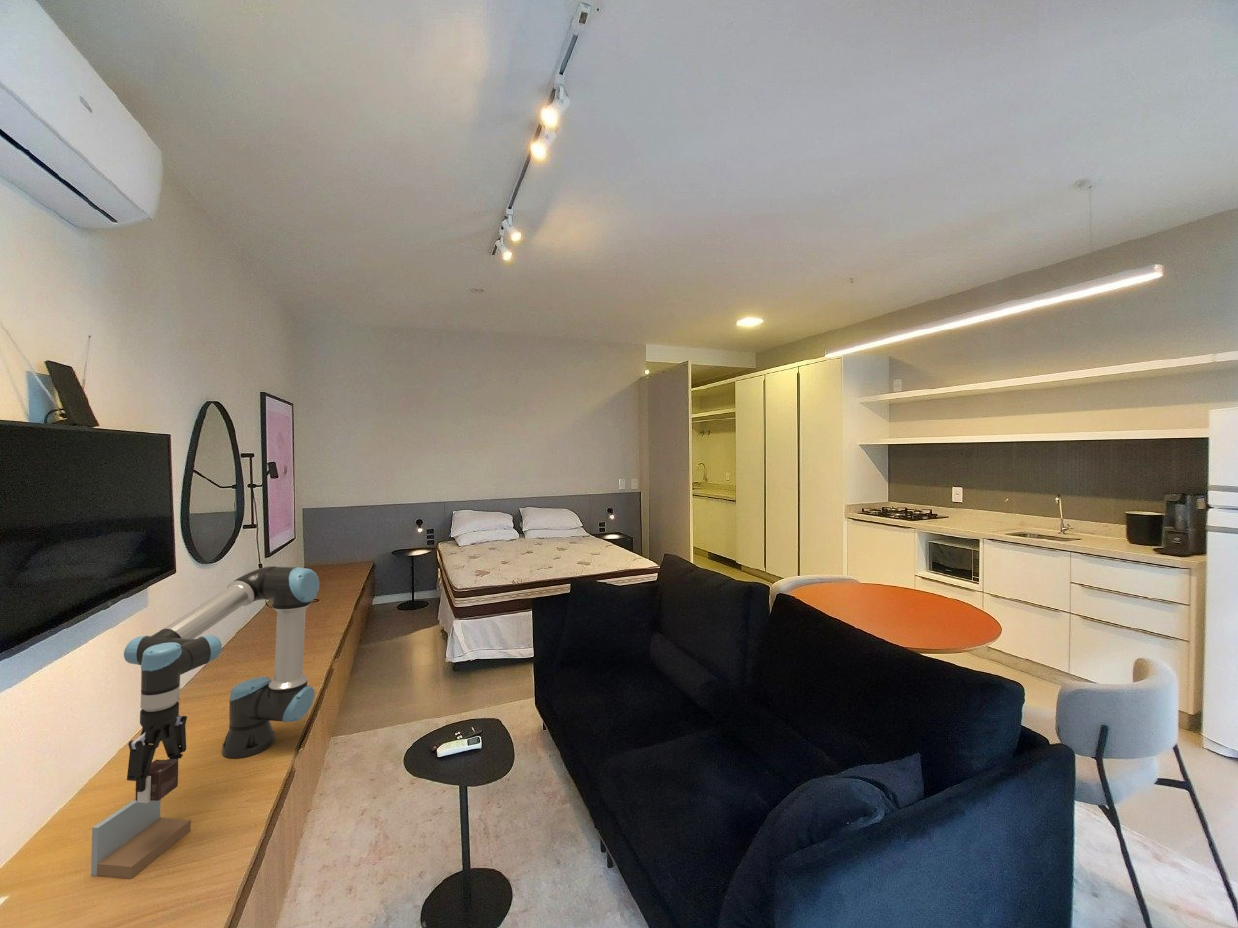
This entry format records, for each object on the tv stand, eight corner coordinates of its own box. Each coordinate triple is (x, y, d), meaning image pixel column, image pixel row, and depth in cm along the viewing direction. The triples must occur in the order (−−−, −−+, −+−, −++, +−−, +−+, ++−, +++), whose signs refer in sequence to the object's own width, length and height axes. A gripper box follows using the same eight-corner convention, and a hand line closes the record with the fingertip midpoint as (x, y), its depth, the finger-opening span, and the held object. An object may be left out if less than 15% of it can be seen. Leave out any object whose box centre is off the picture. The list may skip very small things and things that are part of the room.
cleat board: (154, 827, 139) (156, 785, 139) (190, 830, 138) (191, 788, 138) (91, 875, 123) (92, 827, 123) (131, 879, 122) (132, 830, 122)
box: (178, 786, 133) (179, 759, 133) (158, 802, 127) (159, 773, 127) (155, 786, 133) (156, 759, 133) (134, 801, 127) (135, 773, 127)
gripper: (180, 687, 140) (177, 769, 140) (106, 723, 121) (103, 818, 121) (206, 689, 140) (203, 771, 140) (136, 725, 120) (132, 820, 120)
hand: (157, 792), depth 130 cm, fingers closed on box, 6 cm apart
